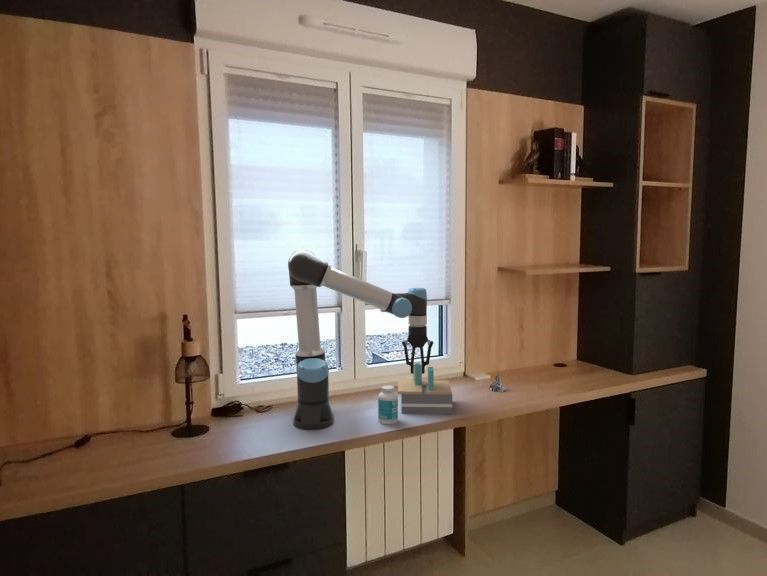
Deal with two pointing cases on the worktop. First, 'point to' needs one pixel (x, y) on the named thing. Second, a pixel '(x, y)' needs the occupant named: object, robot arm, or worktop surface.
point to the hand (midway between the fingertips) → (417, 381)
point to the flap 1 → (411, 383)
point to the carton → (426, 403)
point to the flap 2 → (437, 384)
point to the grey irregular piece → (497, 385)
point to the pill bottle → (387, 406)
